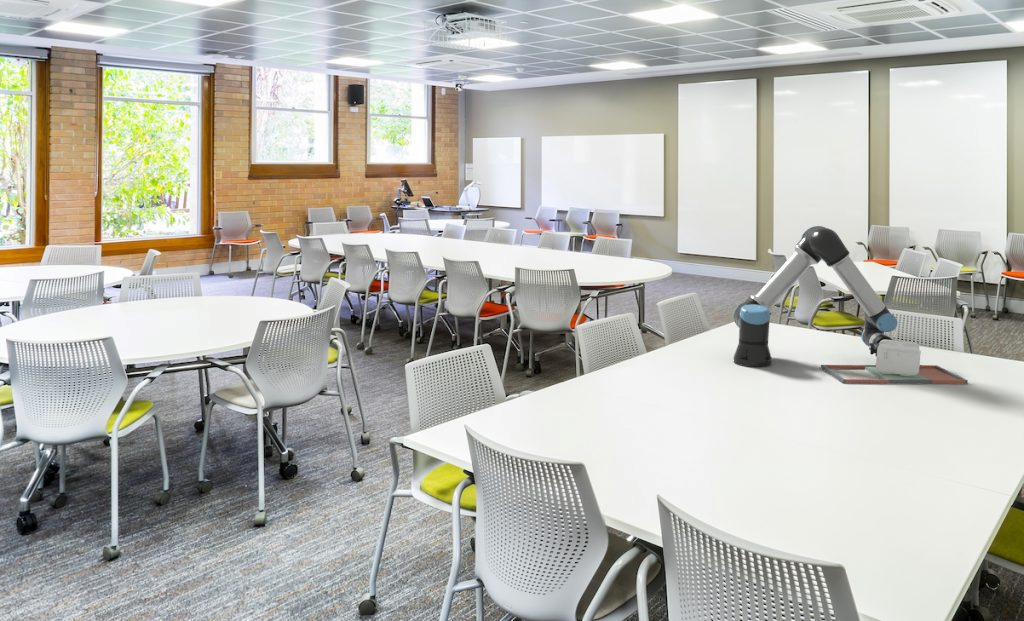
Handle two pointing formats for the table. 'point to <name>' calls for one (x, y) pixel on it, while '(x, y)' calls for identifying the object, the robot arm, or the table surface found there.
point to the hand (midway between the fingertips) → (902, 356)
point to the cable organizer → (898, 357)
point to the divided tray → (925, 375)
